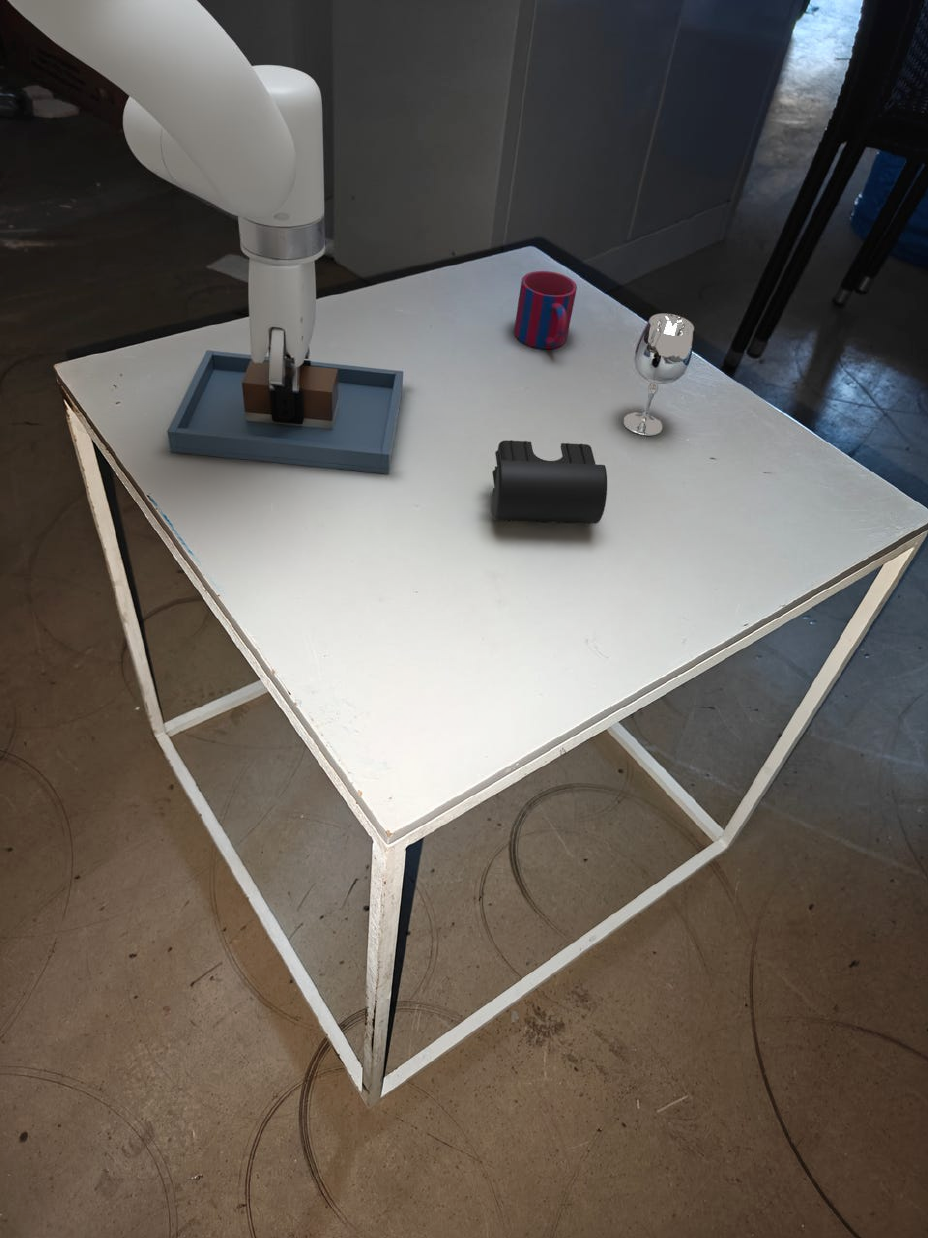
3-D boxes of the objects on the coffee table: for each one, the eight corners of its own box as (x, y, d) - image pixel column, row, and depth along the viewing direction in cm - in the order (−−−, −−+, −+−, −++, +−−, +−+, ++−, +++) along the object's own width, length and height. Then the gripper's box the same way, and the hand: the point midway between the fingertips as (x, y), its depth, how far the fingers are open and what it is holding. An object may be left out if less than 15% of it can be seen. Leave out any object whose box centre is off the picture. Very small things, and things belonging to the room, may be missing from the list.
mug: (561, 323, 111) (571, 271, 106) (576, 364, 104) (587, 311, 99) (510, 321, 110) (518, 269, 105) (522, 362, 103) (530, 308, 98)
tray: (170, 451, 85) (166, 431, 83) (209, 369, 96) (206, 349, 94) (388, 474, 86) (389, 454, 84) (402, 389, 97) (403, 370, 95)
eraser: (245, 420, 89) (241, 382, 85) (254, 397, 92) (250, 359, 88) (332, 429, 89) (332, 391, 86) (338, 406, 92) (338, 368, 89)
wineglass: (629, 441, 94) (658, 340, 85) (609, 411, 98) (634, 312, 89) (676, 436, 95) (709, 337, 87) (655, 407, 99) (684, 309, 90)
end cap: (492, 538, 81) (501, 481, 76) (486, 491, 85) (494, 434, 80) (596, 542, 82) (612, 485, 77) (585, 495, 86) (599, 439, 82)
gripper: (258, 190, 82) (271, 362, 95) (218, 268, 71) (238, 451, 84) (337, 199, 83) (339, 369, 96) (309, 278, 71) (315, 459, 84)
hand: (292, 405), depth 90 cm, fingers closed on eraser, 4 cm apart
